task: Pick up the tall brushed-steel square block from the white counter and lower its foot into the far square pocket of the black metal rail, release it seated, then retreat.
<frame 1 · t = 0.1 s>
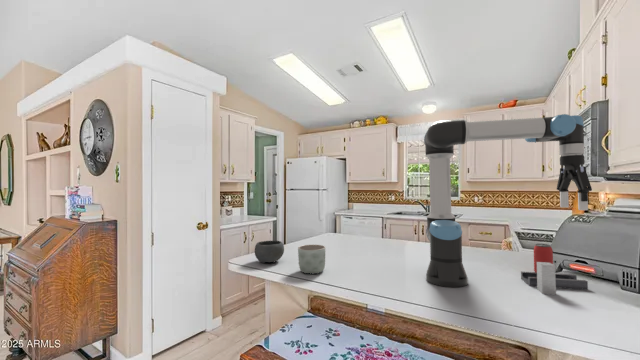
hand: (573, 208, 118), 28 cm above the countertop, fingers open, 13 cm apart
bowl: (269, 262, 152), on the countertop
rail: (552, 284, 113), on the countertop
planter: (312, 272, 134), on the countertop
beer can: (543, 273, 127), on the countertop
steel block: (546, 292, 105), on the countertop
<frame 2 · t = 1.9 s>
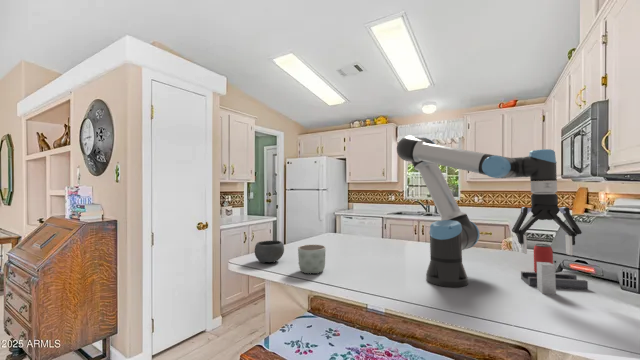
hand: (546, 253, 105), 13 cm above the countertop, fingers open, 13 cm apart
nothing on the countertop moved.
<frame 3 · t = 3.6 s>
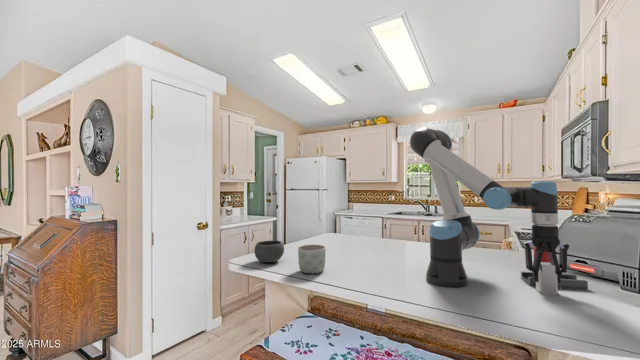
hand: (546, 291, 105), 0 cm above the countertop, fingers closed on steel block, 4 cm apart
steel block: (546, 292, 105), on the countertop, touching gripper
everything else where it was.
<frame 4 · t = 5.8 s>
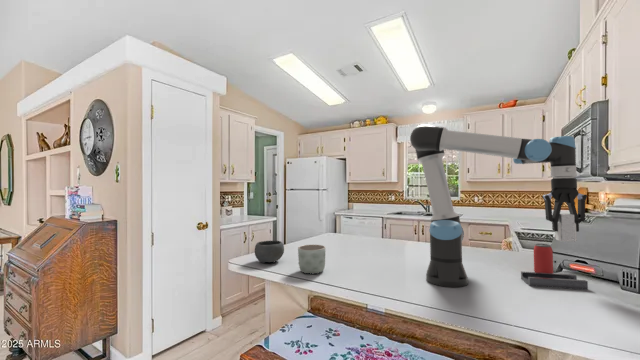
hand: (565, 240, 112), 17 cm above the countertop, fingers closed on steel block, 4 cm apart
steel block: (565, 240, 112), point 17 cm above the countertop, touching gripper
everything else where it was.
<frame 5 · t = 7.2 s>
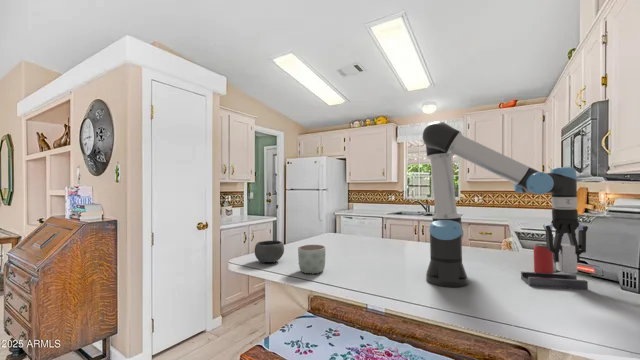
hand: (566, 270, 112), 5 cm above the countertop, fingers closed on steel block, 4 cm apart
steel block: (566, 271, 112), point 5 cm above the countertop, touching gripper
everything else where it was.
when the fingers open (2 cm above the countertop, at t = 8.0 s): steel block drops 2 cm, resting in rail.
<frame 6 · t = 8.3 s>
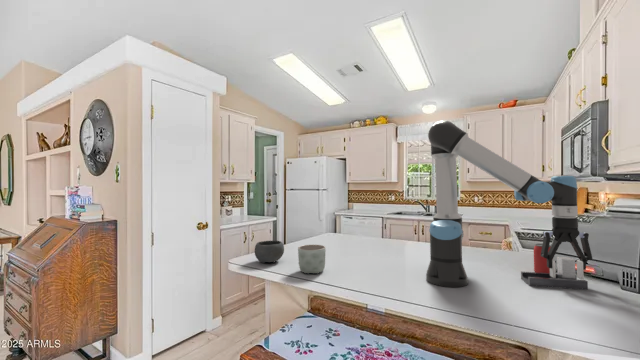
hand: (566, 277, 112), 3 cm above the countertop, fingers open, 8 cm apart
steel block: (566, 285, 112), resting in rail
everything else where it was.
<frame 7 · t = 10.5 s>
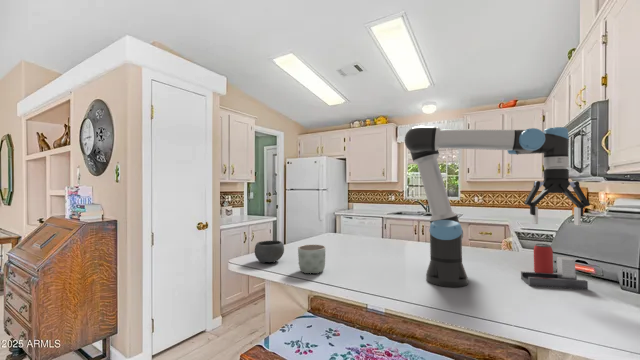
hand: (556, 224, 113), 23 cm above the countertop, fingers open, 13 cm apart
nothing on the countertop moved.
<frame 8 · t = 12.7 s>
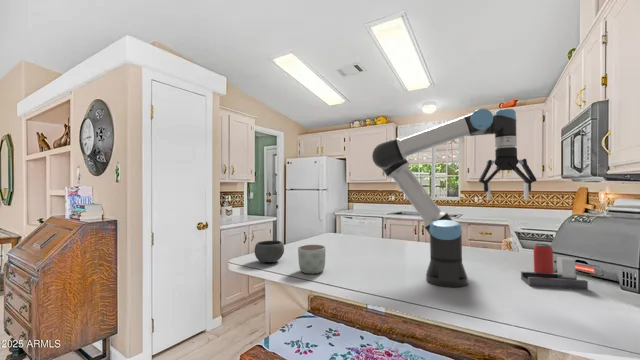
hand: (507, 199, 122), 32 cm above the countertop, fingers open, 13 cm apart
nothing on the countertop moved.
at the end: steel block 0.0 cm from the target spot on the rail, point 0.0 cm above the rail's base; steel block tilted 0°; the gripper is holding nothing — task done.
